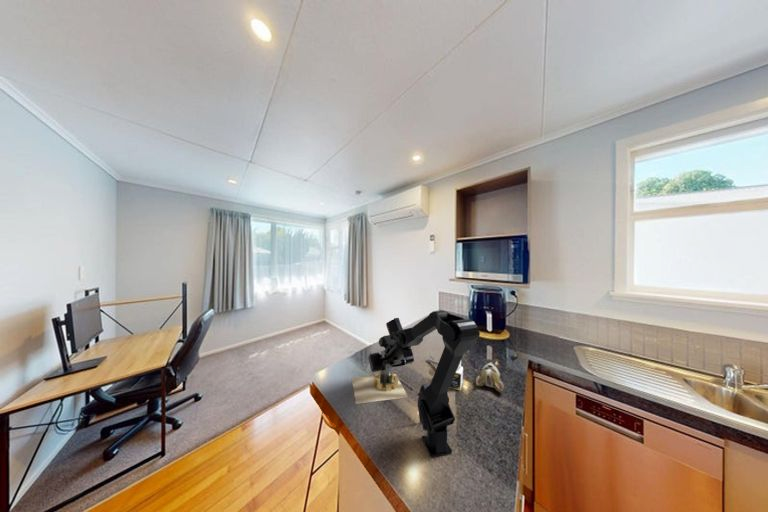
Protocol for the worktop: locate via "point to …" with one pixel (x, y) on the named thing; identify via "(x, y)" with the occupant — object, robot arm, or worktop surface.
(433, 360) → the caliper
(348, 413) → the worktop surface
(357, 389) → the birch plate
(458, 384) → the medicine bottle
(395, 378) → the ring nut
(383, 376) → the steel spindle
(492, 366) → the ceramic sculpture
